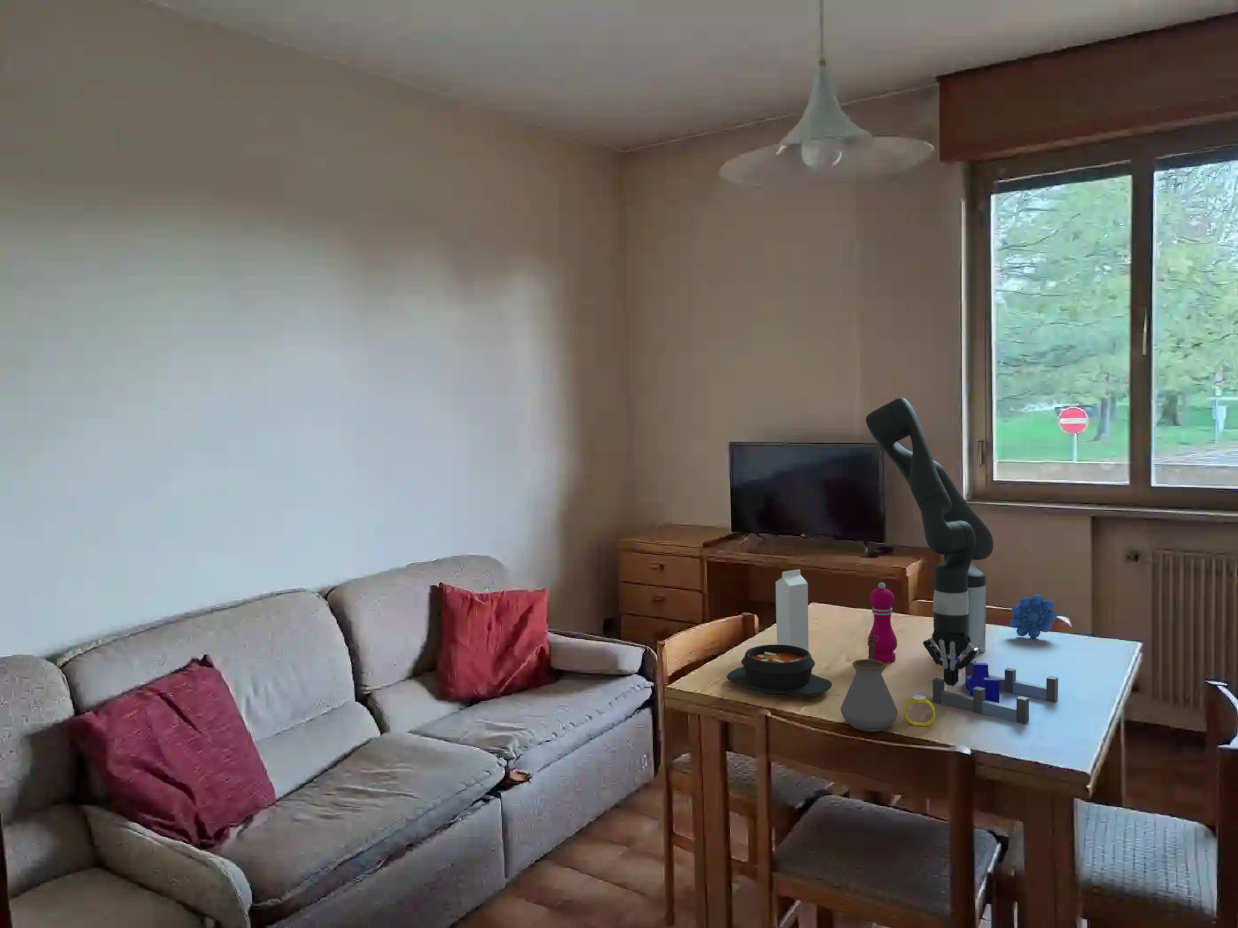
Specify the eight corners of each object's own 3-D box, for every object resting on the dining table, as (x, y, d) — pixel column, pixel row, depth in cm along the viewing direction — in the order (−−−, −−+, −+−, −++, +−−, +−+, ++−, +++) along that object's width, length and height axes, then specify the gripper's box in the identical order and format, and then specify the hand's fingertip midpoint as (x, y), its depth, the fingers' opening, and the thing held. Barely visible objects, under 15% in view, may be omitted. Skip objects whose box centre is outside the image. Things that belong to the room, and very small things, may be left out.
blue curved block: (965, 687, 203) (965, 662, 202) (986, 688, 202) (986, 662, 201) (977, 706, 191) (977, 679, 190) (999, 707, 190) (999, 680, 190)
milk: (776, 651, 234) (774, 569, 233) (795, 647, 237) (793, 567, 235) (790, 657, 229) (788, 573, 227) (809, 653, 232) (807, 570, 230)
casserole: (844, 685, 206) (844, 650, 206) (811, 710, 191) (810, 672, 191) (749, 668, 221) (749, 635, 221) (711, 690, 206) (710, 655, 206)
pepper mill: (863, 656, 228) (862, 580, 226) (890, 654, 228) (890, 578, 227) (874, 664, 221) (873, 586, 219) (902, 663, 221) (901, 584, 219)
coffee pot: (897, 737, 175) (896, 664, 174) (837, 731, 179) (836, 659, 178) (900, 700, 195) (900, 634, 194) (847, 696, 199) (846, 631, 198)
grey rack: (932, 701, 194) (932, 679, 194) (968, 680, 207) (968, 659, 206) (1025, 723, 180) (1025, 700, 179) (1057, 699, 193) (1058, 677, 192)
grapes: (1055, 635, 241) (1055, 591, 240) (1057, 642, 234) (1058, 597, 233) (1008, 632, 245) (1008, 589, 244) (1009, 638, 238) (1010, 595, 237)
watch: (905, 727, 181) (902, 699, 181) (905, 722, 184) (903, 694, 183) (936, 728, 179) (933, 699, 179) (935, 723, 182) (933, 694, 181)
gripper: (915, 608, 201) (915, 682, 202) (972, 617, 191) (972, 695, 193) (930, 602, 206) (931, 674, 207) (987, 610, 196) (987, 686, 198)
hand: (951, 684), depth 200 cm, fingers closed
